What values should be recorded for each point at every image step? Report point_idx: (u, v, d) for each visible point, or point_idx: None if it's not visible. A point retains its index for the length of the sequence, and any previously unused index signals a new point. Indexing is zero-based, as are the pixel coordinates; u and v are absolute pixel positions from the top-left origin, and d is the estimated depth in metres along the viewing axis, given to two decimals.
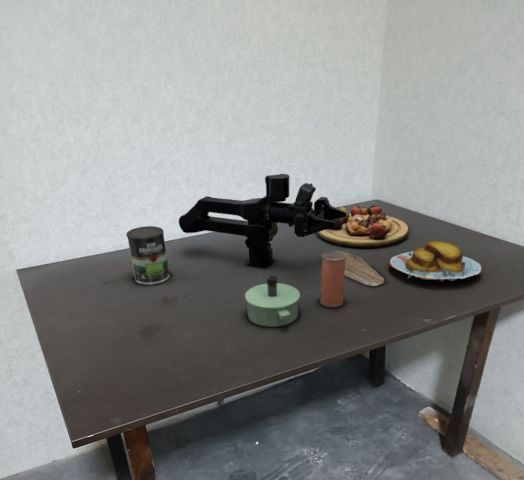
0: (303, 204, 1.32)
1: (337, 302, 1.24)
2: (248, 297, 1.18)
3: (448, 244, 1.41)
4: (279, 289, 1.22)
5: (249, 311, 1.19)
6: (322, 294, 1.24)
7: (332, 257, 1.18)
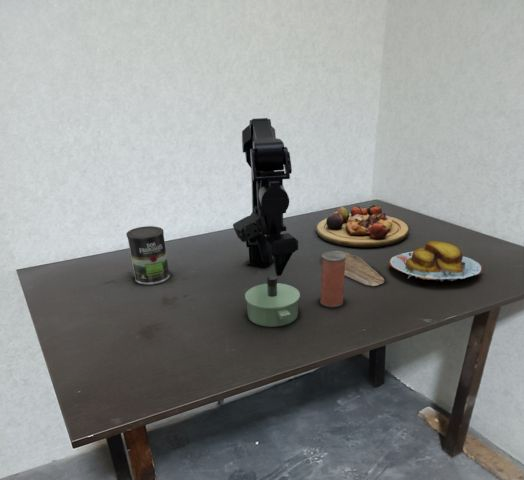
0: None
1: (337, 302, 1.24)
2: (248, 297, 1.18)
3: (448, 244, 1.41)
4: (279, 289, 1.22)
5: (249, 311, 1.19)
6: (322, 294, 1.24)
7: (332, 257, 1.18)
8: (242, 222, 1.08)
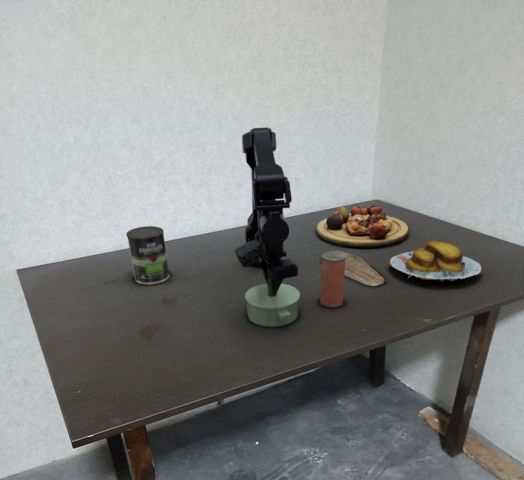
0: None
1: (337, 302, 1.24)
2: (248, 297, 1.18)
3: (448, 244, 1.41)
4: (279, 289, 1.22)
5: (249, 311, 1.19)
6: (322, 294, 1.24)
7: (332, 257, 1.18)
8: (243, 248, 1.11)
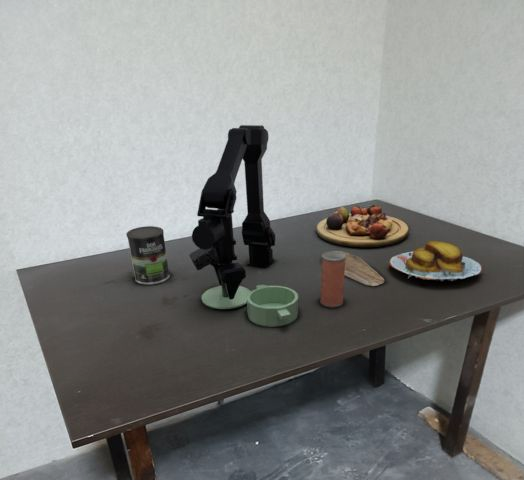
0: None
1: (337, 302, 1.24)
2: (204, 298, 1.29)
3: (448, 244, 1.41)
4: None
5: (249, 311, 1.19)
6: (322, 294, 1.24)
7: (332, 257, 1.18)
8: (197, 252, 1.21)
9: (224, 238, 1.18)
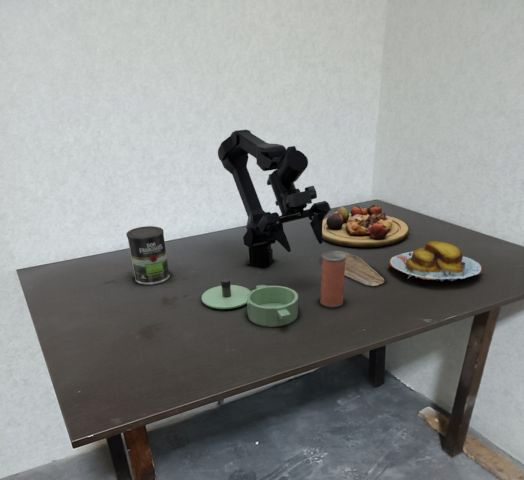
0: (289, 206, 1.21)
1: (337, 302, 1.24)
2: (204, 298, 1.29)
3: (448, 244, 1.41)
4: (234, 290, 1.32)
5: (249, 311, 1.19)
6: (322, 294, 1.24)
7: (332, 257, 1.18)
8: None
9: None
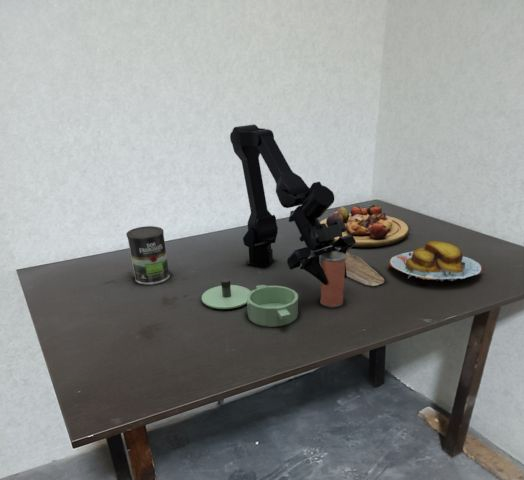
0: (318, 240, 1.19)
1: (337, 302, 1.24)
2: (204, 298, 1.29)
3: (448, 244, 1.41)
4: (234, 290, 1.32)
5: (249, 311, 1.19)
6: (322, 294, 1.24)
7: (332, 257, 1.18)
8: None
9: None
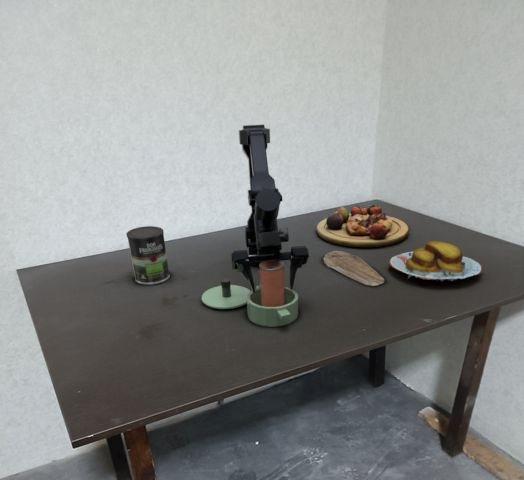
0: None
1: None
2: (204, 298, 1.29)
3: (448, 244, 1.41)
4: (234, 290, 1.32)
5: (249, 311, 1.19)
6: (261, 302, 1.21)
7: (267, 266, 1.14)
8: None
9: None
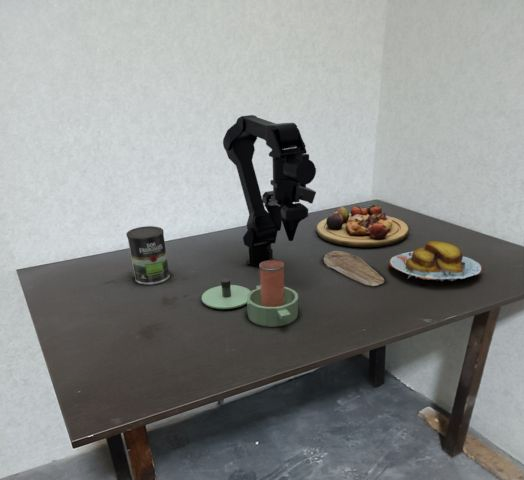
0: (300, 198, 1.27)
1: None
2: (204, 298, 1.29)
3: (448, 244, 1.41)
4: (234, 290, 1.32)
5: (249, 311, 1.19)
6: (261, 302, 1.21)
7: (267, 266, 1.14)
8: (307, 189, 1.28)
9: None
